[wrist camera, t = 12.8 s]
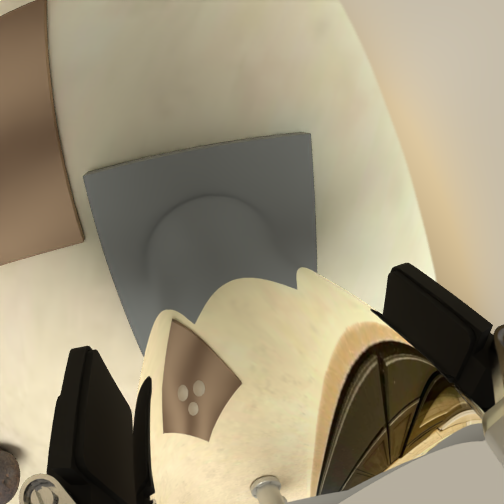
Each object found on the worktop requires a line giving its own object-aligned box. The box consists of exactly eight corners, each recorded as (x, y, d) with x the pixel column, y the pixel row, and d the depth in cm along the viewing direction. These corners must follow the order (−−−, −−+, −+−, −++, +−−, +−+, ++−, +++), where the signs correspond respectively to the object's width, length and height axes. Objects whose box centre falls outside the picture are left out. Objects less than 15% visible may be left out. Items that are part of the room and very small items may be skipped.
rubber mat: (87, 172, 12) (82, 176, 11) (301, 132, 14) (310, 133, 13) (144, 347, 17) (144, 359, 16) (310, 305, 19) (317, 314, 18)
